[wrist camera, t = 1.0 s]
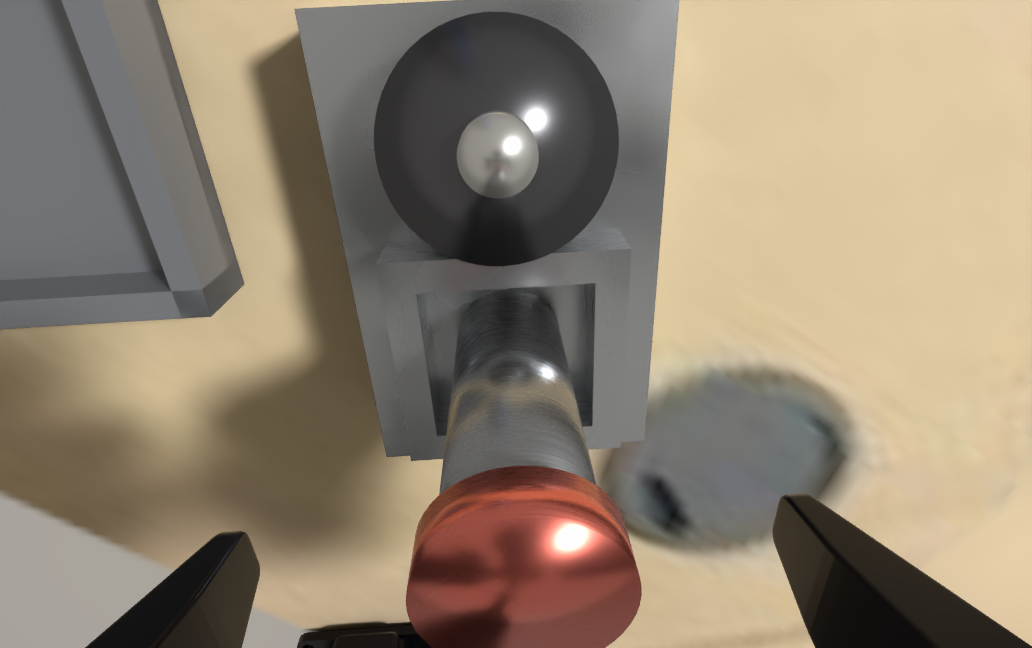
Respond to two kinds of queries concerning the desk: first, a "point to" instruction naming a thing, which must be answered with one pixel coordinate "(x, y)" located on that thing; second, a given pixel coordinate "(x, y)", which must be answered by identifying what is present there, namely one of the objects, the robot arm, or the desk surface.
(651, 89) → the tensioner block
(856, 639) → the robot arm
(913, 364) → the desk surface
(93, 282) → the tray
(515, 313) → the lock pin
